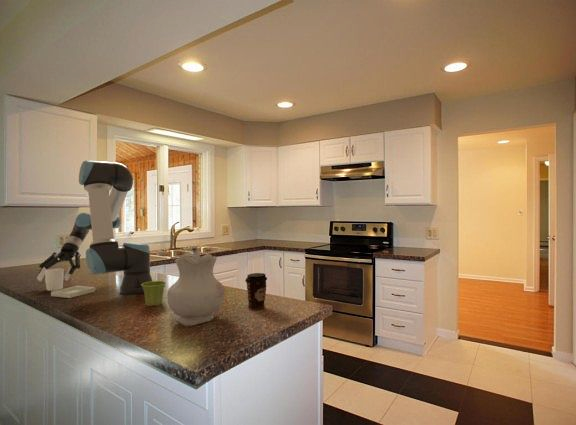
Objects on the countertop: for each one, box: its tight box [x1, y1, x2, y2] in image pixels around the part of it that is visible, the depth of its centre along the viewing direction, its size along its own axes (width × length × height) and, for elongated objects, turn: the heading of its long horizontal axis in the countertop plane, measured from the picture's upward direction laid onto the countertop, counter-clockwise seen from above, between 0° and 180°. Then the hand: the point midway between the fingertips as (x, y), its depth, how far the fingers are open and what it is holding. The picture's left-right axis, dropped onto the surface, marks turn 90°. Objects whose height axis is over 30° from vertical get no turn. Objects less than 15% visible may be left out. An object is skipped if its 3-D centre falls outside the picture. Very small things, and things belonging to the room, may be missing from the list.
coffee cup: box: [244, 272, 268, 311], centre depth 128 cm, size 9×8×13 cm
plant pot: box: [141, 280, 167, 307], centre depth 136 cm, size 9×9×9 cm
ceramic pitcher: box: [166, 246, 226, 327], centre depth 117 cm, size 22×20×25 cm
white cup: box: [44, 267, 65, 292], centre depth 167 cm, size 8×8×10 cm
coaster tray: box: [50, 285, 96, 299], centre depth 157 cm, size 13×13×2 cm
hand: (52, 279), depth 166 cm, fingers open, 13 cm apart
